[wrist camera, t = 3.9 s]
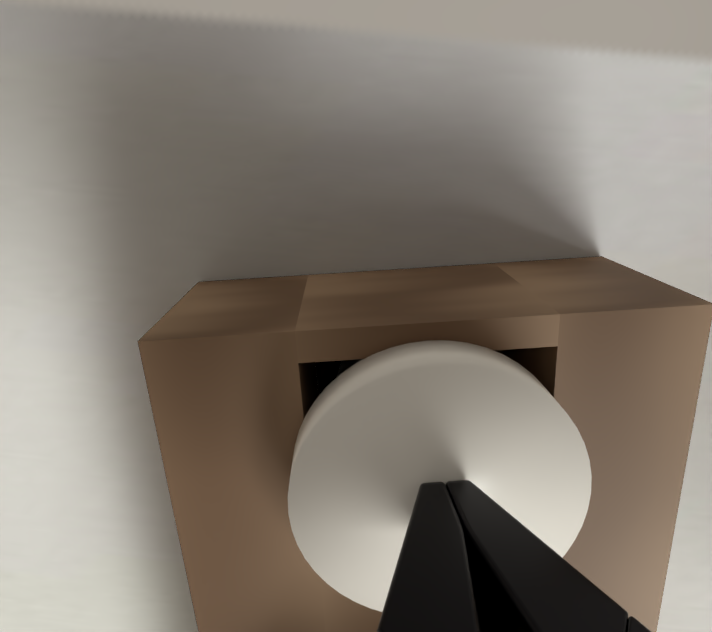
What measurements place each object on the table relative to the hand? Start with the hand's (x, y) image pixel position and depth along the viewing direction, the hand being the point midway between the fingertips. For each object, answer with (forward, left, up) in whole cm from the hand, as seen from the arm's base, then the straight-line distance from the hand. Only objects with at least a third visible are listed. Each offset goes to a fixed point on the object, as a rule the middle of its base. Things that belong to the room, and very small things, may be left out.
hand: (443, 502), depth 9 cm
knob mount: (0, +8, -5) cm, 9 cm away
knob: (0, 0, -5) cm, 5 cm away
